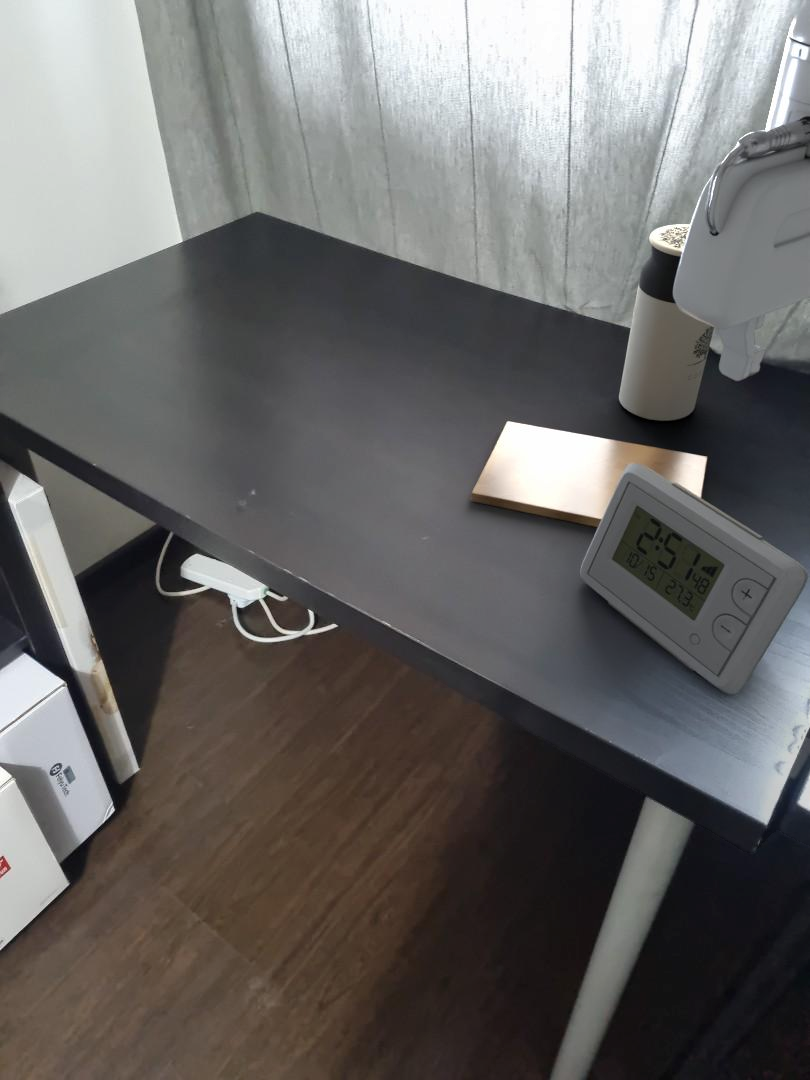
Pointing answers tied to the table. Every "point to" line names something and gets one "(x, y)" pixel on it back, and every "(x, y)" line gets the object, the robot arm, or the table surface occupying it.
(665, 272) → the travel mug
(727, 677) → the digital clock
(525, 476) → the wooden board
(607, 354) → the table surface
